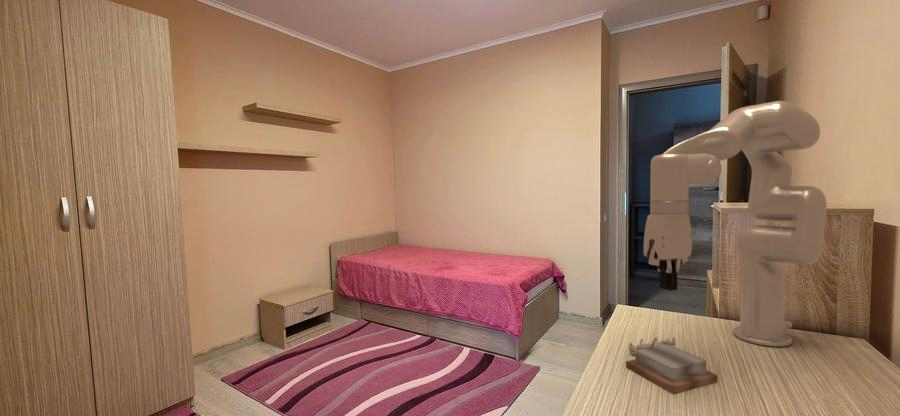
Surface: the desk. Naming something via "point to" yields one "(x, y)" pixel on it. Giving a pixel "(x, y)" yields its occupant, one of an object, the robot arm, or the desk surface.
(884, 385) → the desk surface
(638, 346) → the soldier figure
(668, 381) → the tower pedestal
